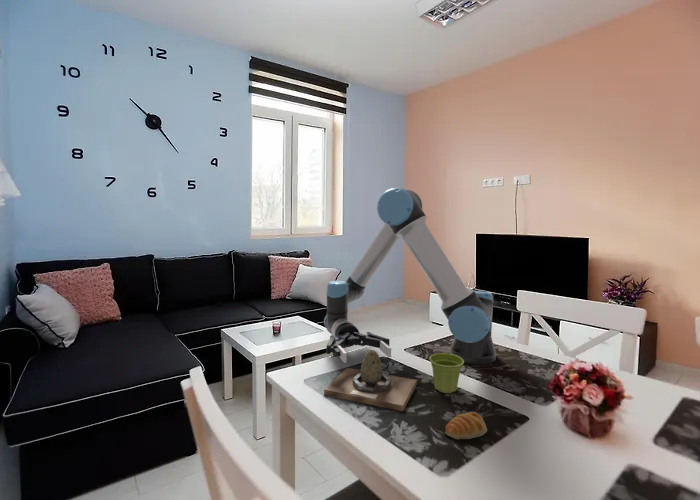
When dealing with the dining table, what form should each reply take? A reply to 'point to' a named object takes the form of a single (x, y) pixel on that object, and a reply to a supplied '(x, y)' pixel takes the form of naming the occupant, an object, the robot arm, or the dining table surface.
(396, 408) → the walnut board
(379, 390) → the ring socket
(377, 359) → the decorative egg
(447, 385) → the plant pot
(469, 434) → the pastry
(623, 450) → the dining table surface
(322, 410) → the dining table surface
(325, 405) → the dining table surface
